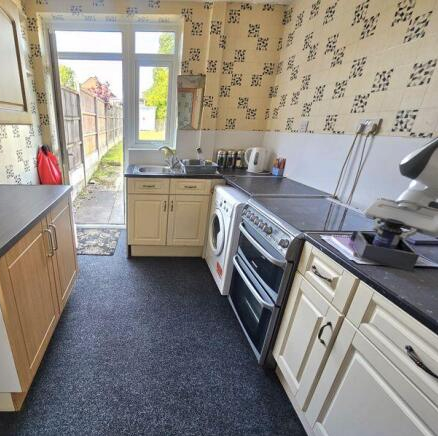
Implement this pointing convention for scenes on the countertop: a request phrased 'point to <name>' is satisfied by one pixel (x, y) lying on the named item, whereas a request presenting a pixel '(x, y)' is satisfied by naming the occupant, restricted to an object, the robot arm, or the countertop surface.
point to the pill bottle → (388, 234)
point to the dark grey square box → (385, 252)
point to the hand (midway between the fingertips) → (388, 234)
